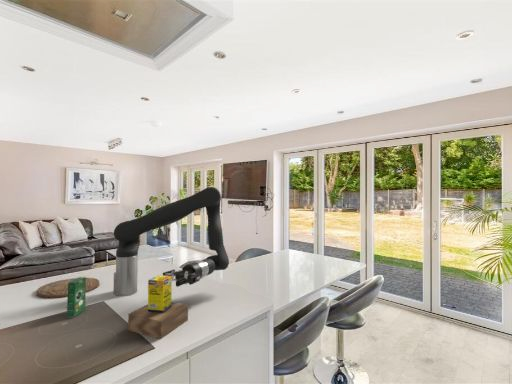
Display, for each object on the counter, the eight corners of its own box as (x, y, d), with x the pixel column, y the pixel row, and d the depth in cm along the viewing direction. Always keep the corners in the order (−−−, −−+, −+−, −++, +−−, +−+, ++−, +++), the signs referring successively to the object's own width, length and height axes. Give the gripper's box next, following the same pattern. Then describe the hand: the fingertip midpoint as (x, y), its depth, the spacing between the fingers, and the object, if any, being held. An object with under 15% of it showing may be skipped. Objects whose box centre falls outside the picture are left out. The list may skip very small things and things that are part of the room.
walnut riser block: (128, 331, 91) (128, 313, 92) (157, 315, 104) (157, 299, 104) (161, 340, 86) (161, 321, 86) (187, 321, 99) (188, 305, 99)
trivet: (97, 293, 126) (97, 289, 126) (28, 302, 115) (29, 298, 115) (101, 278, 148) (101, 275, 148) (44, 285, 137) (44, 281, 137)
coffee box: (78, 309, 108) (78, 276, 108) (85, 308, 108) (86, 275, 108) (66, 318, 100) (66, 282, 100) (74, 318, 100) (75, 282, 100)
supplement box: (163, 313, 92) (163, 280, 92) (147, 311, 93) (147, 279, 93) (172, 306, 98) (172, 275, 98) (156, 304, 99) (157, 274, 99)
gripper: (182, 260, 117) (153, 269, 102) (209, 264, 110) (182, 274, 96) (182, 277, 117) (153, 289, 102) (209, 282, 110) (182, 295, 96)
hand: (167, 282), depth 99 cm, fingers open, 8 cm apart
